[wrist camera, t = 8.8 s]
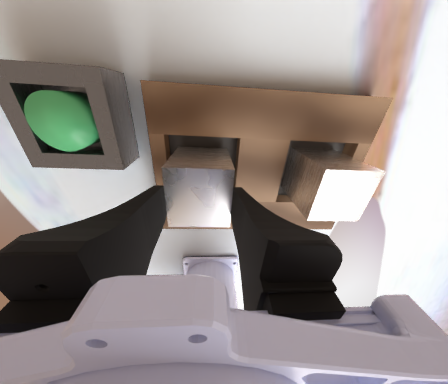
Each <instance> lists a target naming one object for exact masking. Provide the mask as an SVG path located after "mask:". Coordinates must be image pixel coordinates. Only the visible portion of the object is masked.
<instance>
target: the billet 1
mask: <svg viewBox="0 0 448 384" xmlns="http://www.w3.org/2000/svg"><path fill="white" fill-rule="evenodd" d="M161 168H162V177H163V185H164V192H165V201H166V210H167V221H168V227H230V221H231V207H232V196H233V186H234V175H235V169H234V166H233V163H232V160H231V157H230V155H229V152H228V149H227V148H203V147H178V148H177V149H176V150H175V152H174V153H173V154H172V155H171V156H170V158H169V159H168V160H167V161H166V163H165V164H164V165H163V166H162V167H161Z"/></svg>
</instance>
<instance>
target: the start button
mask: <svg viewBox="0 0 448 384" xmlns="http://www.w3.org/2000/svg"><path fill="white" fill-rule="evenodd" d="M24 113H25V117H26V120H27V122H28V124H29V126H30V127H31V129H32V130H33V132H34V133H35V134H36V135H37V136H38V137H39V138H40V139H41V140H42V141H44V142H45V143H47V144H48V145H50V146H52V147H54V148H56V149H59V150H62V151H77V150H80V149H83V148H85V147H88V146H90V145H93V144H95V143H98V142H100V138H99V134H98V131H97V127H96V124H95V120H94V117H93V113H92V110H91V106H90V103H89V99H88V96H87V94H85V93H82V92H77V91H53V90H40V91H36V92H33V93H32V94H30V95H29V96H28V97H27V99H26V101H25V104H24Z"/></svg>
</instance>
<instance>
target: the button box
mask: <svg viewBox="0 0 448 384" xmlns="http://www.w3.org/2000/svg"><path fill="white" fill-rule="evenodd" d="M40 90H53V91H77V92H82V93H85V94H87V96H88V99H89V103H90V106H91V110H92V113H93V117H94V120H95V124H96V127H97V131H98V134H99V138H100V142H98V143H95V144H93V145H90V146H88V147H85V148H83V149H80V150H77V151H62V150H59V149H56V148H54V147H52V146H50V145H48V144H47V143H45V142H44V141H42V140H41V139H40V138H39V137H38V136H37V135H36V134H35V133H34V132H33V130H32V129H31V127H30V126H29V124H28V122H27V120H26V117H25V113H24V104H25V101H26V99H27V97H28V96H29V95H30V94H32V93H33V92H36V91H40ZM0 105H1V107H2V109H3V111H4V113H5V115H6V116H7V118H8V120H9V122H10V124H11V126H12V128H13V130H14V132H15V134H16V136H17V138H18V140H19V142H20V144H21V146H22V148H23V150H24V152H25V153H26V155H27V157H28V159H29V161H30V163H31V165H32V167H45V168H79V169H113V170H124V169H125V168H127V167H128V166H129V165H130V164H131V163H133V162H134V161H135V160H136V159H137V158H139V153H138V147H137V142H136V137H135V131H134V126H133V121H132V115H131V110H130V105H129V99H128V94H127V89H126V83H125V78H124V73H121V72H117V71H113V70H109V69H105V68H102V67H95V66H82V65H69V64H55V63H42V62H29V61H15V60H2V59H0Z"/></svg>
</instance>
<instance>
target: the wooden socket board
mask: <svg viewBox="0 0 448 384" xmlns="http://www.w3.org/2000/svg"><path fill="white" fill-rule="evenodd" d="M140 82H141V88H142V95H143V101H144V108H145V115H146V121H147V128H148V134H149V141H150V148H151V154H152V161H153V168H154V174H155V181H156V185H163V177H162V168H161V167H162V166H163V165H164V164H165V163H166V161H167V160H168V159H169V158H170V156H171V155H172V154H173V153H174V152H175V150H176V149H177V148H178V147H203V148H227V149H228V152H229V155H230V157H231V160H232V163H233V166H234V169H235V175H234V186H233V187H242V188H243V189H244V190H245V191H246V192H247V193H248V194H249V195H250V196H252V197H253V198H254V199H255V200H256V201H257V202H259V203H260V204H261V205H263V206H264V207H265V208H267V209H268V210H270V211H271V212H273V213H274V214H276V215H278V216H280V217H282V218H284V219H286V220H288V221H290V222H292V223H294V224H296V225H299V226H302V227H304V228H307V229H332V227H333V225H334V223H335V221H307V220H306V218H305V217H304V216H303V215H302V213H301V212H300V211H299V209H298V208H297V207H296V205H295V204H294V203H293V201H292V200H291V199H290V198H289V196H288V195H287V194H286V192H285V191H284V190H283V188H282V183H283V179H284V175H285V171H286V167H287V163H288V159H289V155H290V151H291V147H294V148H317V149H334V150H337V151H339V152H341V153H344V154H346V155H348V156H351V157H353V158H355V159H357V160H360V161H362V162H363V161H364V159H365V157H366V155H367V152H368V150H369V148H370V146H371V144H372V142H373V140H374V138H375V135H376V133H377V131H378V129H379V127H380V125H381V123H382V121H383V118H384V116H385V114H386V112H387V110H388V108H389V106H390V104H391V101H392V99H393V98H387V97H373V96H359V95H344V94H330V93H316V92H302V91H288V90H273V89H259V88H245V87H231V86H217V85H203V84H188V83H174V82H160V81H146V80H140ZM163 229H233V227H232V222H231V221H230V227H168V221H167V217H166V220H165V224H164V226H163Z"/></svg>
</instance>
